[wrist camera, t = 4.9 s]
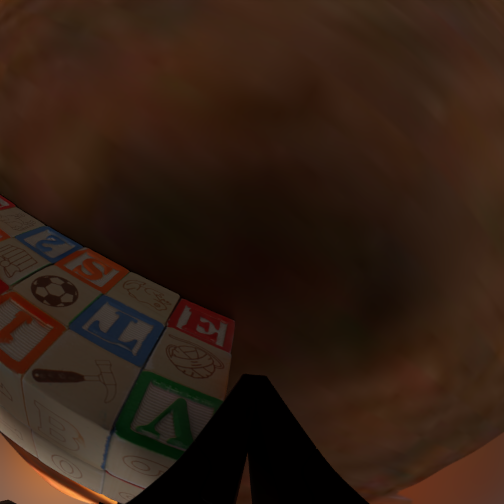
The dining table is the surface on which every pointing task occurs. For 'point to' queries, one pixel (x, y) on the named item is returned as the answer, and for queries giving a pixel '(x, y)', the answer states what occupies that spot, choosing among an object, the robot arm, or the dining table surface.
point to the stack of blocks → (101, 361)
